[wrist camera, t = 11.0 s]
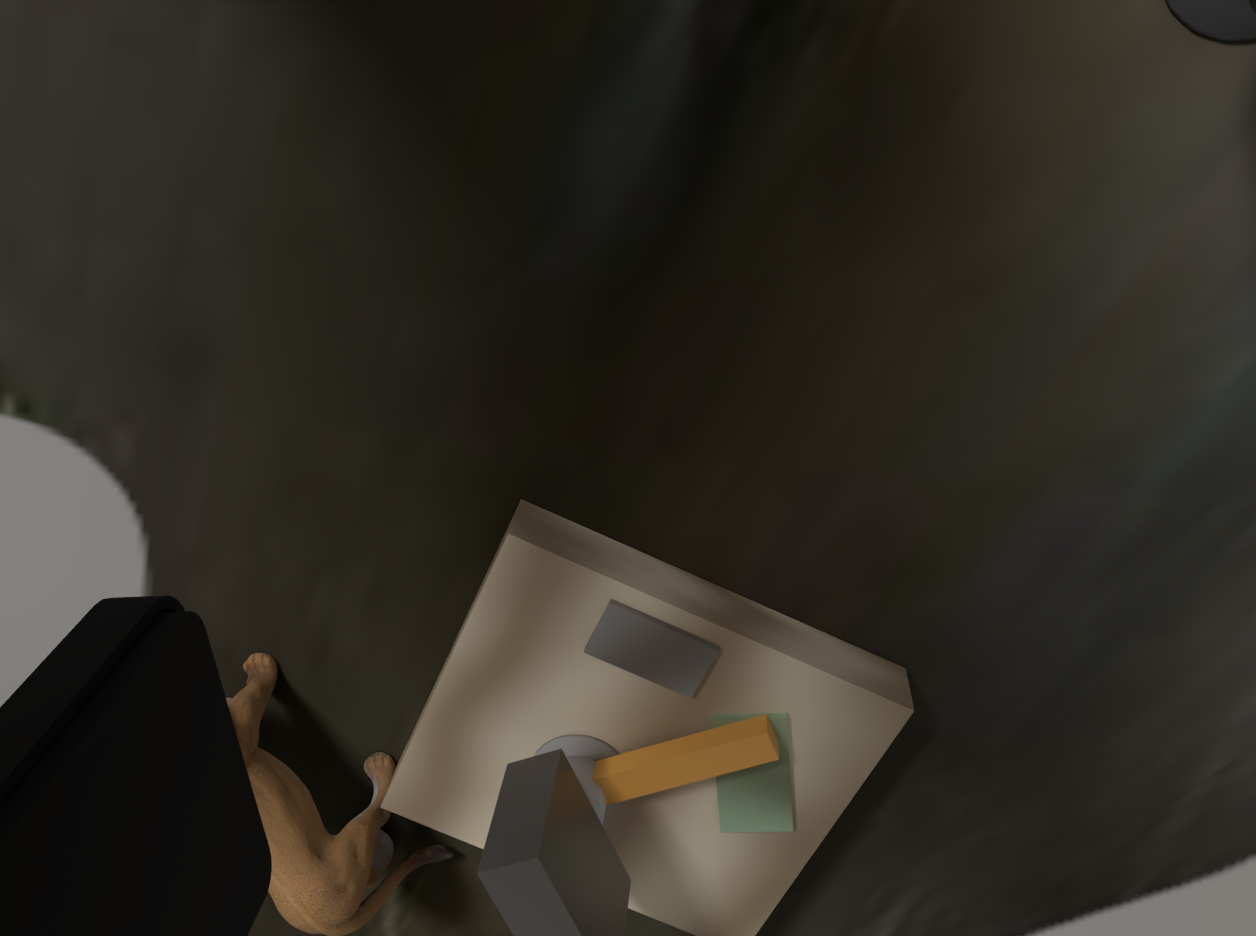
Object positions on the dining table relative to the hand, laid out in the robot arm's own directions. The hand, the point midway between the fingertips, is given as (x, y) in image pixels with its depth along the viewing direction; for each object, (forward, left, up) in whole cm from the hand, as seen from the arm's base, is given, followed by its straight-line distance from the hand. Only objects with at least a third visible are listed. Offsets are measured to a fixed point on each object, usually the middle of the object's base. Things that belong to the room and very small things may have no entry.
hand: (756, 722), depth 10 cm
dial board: (+6, -21, -28) cm, 36 cm away
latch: (+7, -20, -26) cm, 33 cm away
